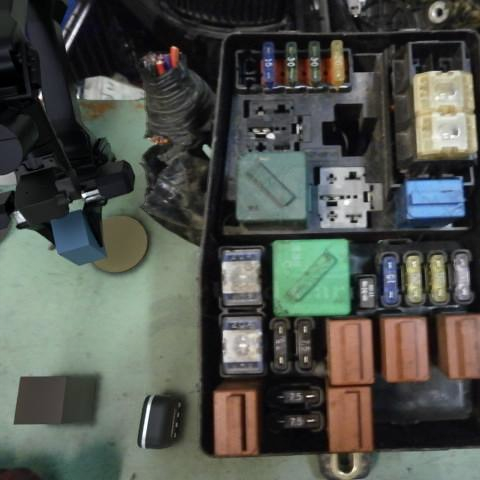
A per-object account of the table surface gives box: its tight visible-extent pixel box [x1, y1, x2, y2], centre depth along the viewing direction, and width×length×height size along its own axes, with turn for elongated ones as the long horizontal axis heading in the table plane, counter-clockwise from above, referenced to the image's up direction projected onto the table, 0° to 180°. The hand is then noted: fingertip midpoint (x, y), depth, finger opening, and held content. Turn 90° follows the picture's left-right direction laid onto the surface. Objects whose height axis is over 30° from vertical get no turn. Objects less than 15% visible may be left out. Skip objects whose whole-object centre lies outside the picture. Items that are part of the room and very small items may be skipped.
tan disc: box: [92, 215, 149, 273], centre depth 87 cm, size 9×9×1 cm
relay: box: [50, 208, 108, 267], centre depth 72 cm, size 4×5×7 cm
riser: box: [13, 375, 97, 426], centre depth 75 cm, size 6×6×11 cm
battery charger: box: [136, 393, 184, 450], centre depth 75 cm, size 7×4×11 cm, turn 175°
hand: (86, 250), depth 73 cm, fingers closed on relay, 4 cm apart
